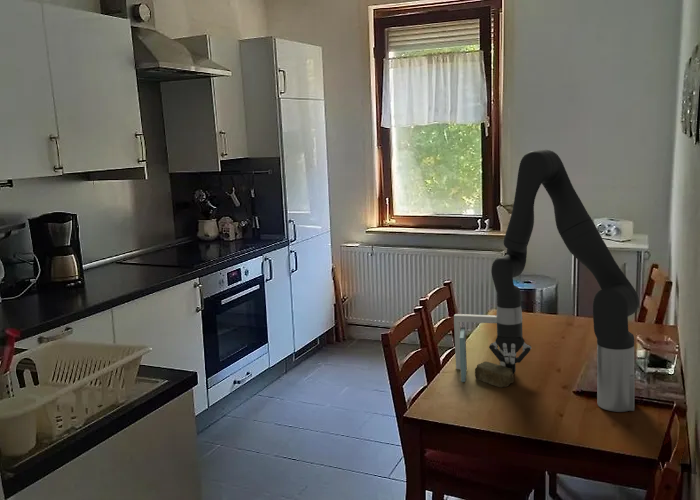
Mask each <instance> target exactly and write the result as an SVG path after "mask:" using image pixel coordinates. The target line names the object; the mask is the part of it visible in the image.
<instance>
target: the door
mask: <svg viewBox="0 0 700 500" xmlns="http://www.w3.org/2000/svg"><path fill="white" fill-rule="evenodd" d="M466 335H467V334H466V327H464V326H460V363H461V369H460V379H461V380H460V382H461V383H466V378H467V370H468V369H467V368H468V367H467V366H468V365H467V363H468V362H467V340H466Z"/></svg>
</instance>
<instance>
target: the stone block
mask: <svg viewBox="0 0 700 500" xmlns="http://www.w3.org/2000/svg"><path fill="white" fill-rule="evenodd" d="M474 377H475V379H476V380H478V381H480V382H484V383H485V384H489V385H490V386H494V387H498V388H506V387H508V386H510V384H513V383H514V381H515V379H514V374H513V373H512V369H511V368H507V367H505V366H502V365H500V364H497V363H494V362H489V361H483V362H481V363H478V364H477V365H476V367H475V368H474Z"/></svg>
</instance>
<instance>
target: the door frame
mask: <svg viewBox="0 0 700 500" xmlns="http://www.w3.org/2000/svg"><path fill="white" fill-rule="evenodd" d="M461 323H479V324H480V323H481V324H497V314H496V315H494V314H493V315H492V314H491V315H489V314H472V313H471V314H470V313H469V314H466V313H464V314H463V313H455V314H454V315H453V327H454V328H453V330H454V331H453V332H454V333H453V334H454V353H455V354H454V355H455V369H456V370H461V363H460V332H461ZM498 349H499V351H500V352H501V353H502V354H503V356H504V352H503V351H502V350H501V349H500V347H499V346H498ZM510 362H511V353H510ZM499 365H502V366H505V363H504V362H501V361H499Z"/></svg>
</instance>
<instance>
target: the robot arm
mask: <svg viewBox="0 0 700 500" xmlns="http://www.w3.org/2000/svg"><path fill="white" fill-rule="evenodd" d="M541 185H542V186H543V187H544V189H545V190H546V192H547V194H548V196H549V198H550V200H551V203H552V205H553V210H554V211H553V212H554V220H555V225H556V229H557V232H558V234H559V236H560V237H561V239H562V241H563V243H564V245H565V247H566V248H567V249H568V251H569V252H570V253H571V254H572V255H573V256H574V258H576V259H577V261H579V262H580V263H581V264H582V265H583V266H585V267H586V269H588V271H590V272H591V274H592V275H593V277H594V279H595V281H596V282H597V284H598V286H599V287H600V290H598V291H597V292H596V293H595V295H594V297H593V301H592V318H593V319H592V320H593V331H594V332H593V333H594V335H595V337H596V375H597V376H596V378H597V379H596V384H597V385H596V388H597V389H596V391H597V393H596V398H597V400H596V401H597V406H598V407H599V408H601V409H602V410H606V411H610V412H617V413H624V412H628V411H629V412H635V336H634V334H633V333H632V332H631V331H629V317H630V316H632V315H634V314H635V313H636V312H637V311H638V309H639V306H640V298H639V295H638V293H637V290H636V289H635V287H634V286H633V285H632V283H631V282H630V280H629V279H628V278H627V276H626V275H625V273H624V272H623V271H622V270H621V268H620V266H619V265H618V263H617V262H616V261H615V259H614V257H613V255H612V253H611V251H610V249H609V248H608V246H607V245H606V244H607V243H605V241H604V238H602V235H601V234H600V231H599V230H598V228H597V225H596V224H595V222H594V221H593V219H592V217H591V215H590V214H589V212H588V211H587V209H586V207H585V206H584V203H583V202H582V200H581V198H580V196H579V195H578V194H577V191H576V190H575V188H574V186H573V184H572V181H571V178H570V177H569V175H568V173H567V170H566V168H565V166H564V162H563V161H562V159H561V158H560V156H559V154H557V153H556V152H555V151H553V150H550V149H540V150H538V149H537V150H532V151H528V152H526V154H524V155H523V157H522V158H521V160H520V163H519V166H518V172H517V180H516V186H515V187H516V188H515V193H514V200H513V205H512V210H511V215H510V218H509V222H508V225H507V228H506V232H505V234H504V238H503V245H504V248H506V253H505V255H502V256H499V257H497V258H496V259H494V261H493V262H492V264H491V269H490V271H491V277H492V278H491V279H492V282H493V285H494V288H495V291H496V316H497V323H496V338H495V341H493V342H492V343H490V345H489V346H488V349H489V350H490V351H491V352H492V354H493V355H494V356H495V357H496V358H497V360H498V361H499V362H500V361H501V362H504V363H505V367H507V368H511V369H512V373H513V375H515V373H516V370H517V369H516V365H517V363H518V364H520V363H521V362H522V361H523V360H524V359H525V357H527V355H528V354H529V353H530V352H531V350H532V346H531V345H529V344H527V343H526V342H525V339H524V338H523V320H524V319H523V311H522V303H521V302H522V299H521V297H522V296H521V289H520V287H518V286H516V285H515V283H514V280H513V279H514V278H516V277H518V276H520V275H521V274H522V273H523V272H524V269H525V267H526V264H527V254H528V245H529V242H530V241H531V236H532V233H533V230H534V226H535V200H536V197H537V193H538V192H539V189H540V187H541ZM499 347H500V349H501V350H502V351H503V352H504V356H503V354H502V353H501V352H500V351H499ZM521 348H522V352H521V353H520V354H519V355H518V356H517V353H518V352H519V351H520V350H521ZM510 353H511V362H510Z"/></svg>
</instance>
